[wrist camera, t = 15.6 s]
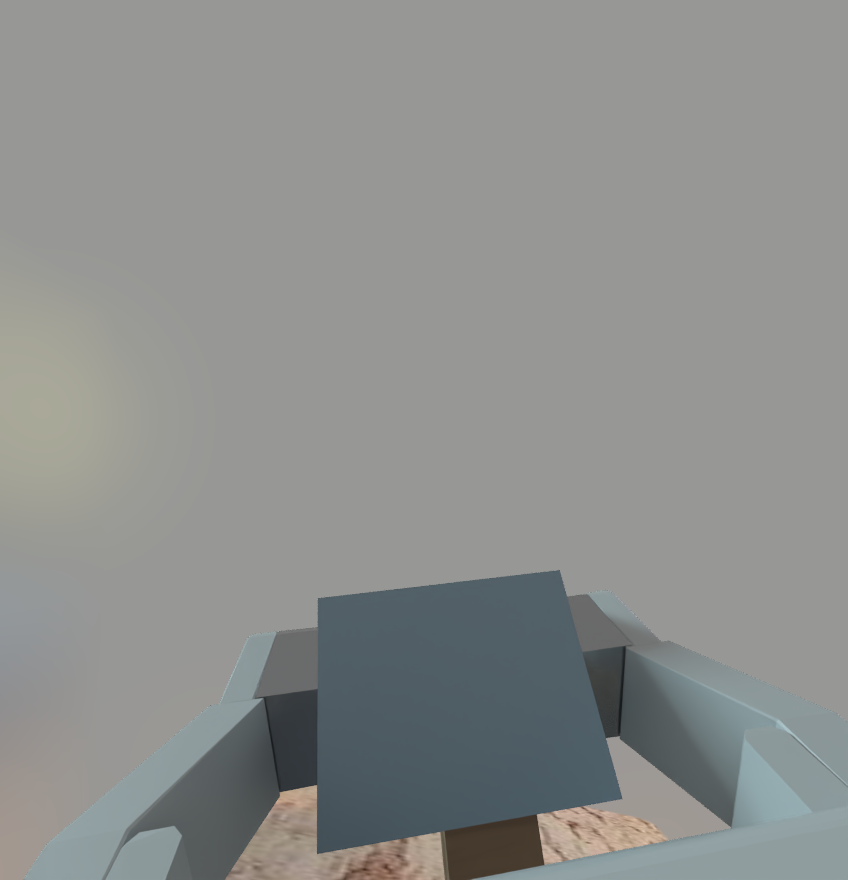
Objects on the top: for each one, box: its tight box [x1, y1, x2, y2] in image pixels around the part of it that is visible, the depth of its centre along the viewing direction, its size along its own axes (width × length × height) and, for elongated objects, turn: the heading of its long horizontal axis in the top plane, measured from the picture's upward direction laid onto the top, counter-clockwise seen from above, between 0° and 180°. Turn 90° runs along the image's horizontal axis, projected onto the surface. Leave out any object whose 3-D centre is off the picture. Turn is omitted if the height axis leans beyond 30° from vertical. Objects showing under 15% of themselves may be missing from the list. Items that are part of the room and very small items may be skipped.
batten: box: [317, 570, 622, 854], centre depth 16 cm, size 24×4×3 cm, turn 5°
